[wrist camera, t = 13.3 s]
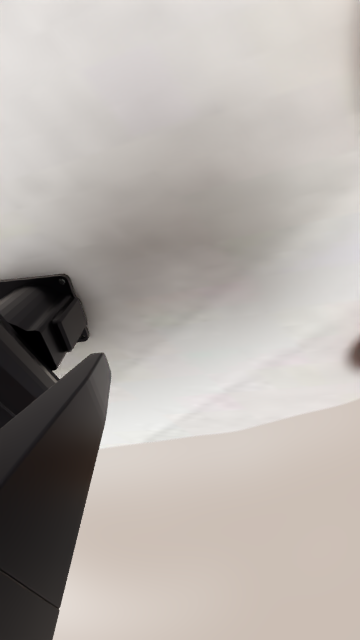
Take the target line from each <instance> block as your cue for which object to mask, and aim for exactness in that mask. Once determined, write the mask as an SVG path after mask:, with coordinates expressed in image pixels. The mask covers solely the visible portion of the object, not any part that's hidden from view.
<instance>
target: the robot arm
mask: <svg viewBox="0 0 360 640" xmlns="http://www.w3.org/2000/svg"><path fill="white" fill-rule="evenodd" d="M61 279H64V280H65V283H63V282H62V281H61ZM86 325H87V321H86V318H85V315H84V312H83V309H82V306H81V303H80V300H79V299H78V298H77V297H76V295H75V293H74V290H73V287H72V284H71V281H70V279H69V277H68V276H67V275H65V274H58V275H48V276H39V277H30V278H20V279H11V280H2V281H0V640H52V639H53V635H54V631H55V627H56V623H57V619H58V615H59V608H60V605H61V601H62V597H63V593H64V589H65V585H66V581H67V577H68V573H69V568H70V564H71V560H72V556H73V552H74V548H75V544H76V540H77V536H78V532H79V528H80V524H81V519H82V515H83V511H84V507H85V503H86V499H87V495H88V491H89V487H90V482H91V478H92V474H93V470H94V466H95V462H96V457H97V453H98V450H99V446H100V442H101V438H102V433H103V429H104V425H105V420H106V414H107V406H108V398H109V390H110V382H111V371H110V368H109V365H108V362H107V359H106V356H105V354H104V353H93V354H90V355H89V356H88V357H87V358H85V359H84V360H83V361H82V362H81V363H79V364H78V365H77V366H76V367H75V368H73V369H72V370H71V371H70V372H68V373H67V374H66V375H65V376H64V377H62V378H61V379H59V378H58V377H57V376H56V375H55V374H54V373H53V372H52V371H53V370H56V369H57V368H58V366H59V364H60V363H61V361H62V359H63V358H64V356H65V354H66V353H67V352H71V351H72V349H73V348H74V346H75V344H76V342H84V341H87V340H88V338H89V332H88V330H87V327H86ZM82 335H84V336H85V337H83V336H82Z"/></svg>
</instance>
